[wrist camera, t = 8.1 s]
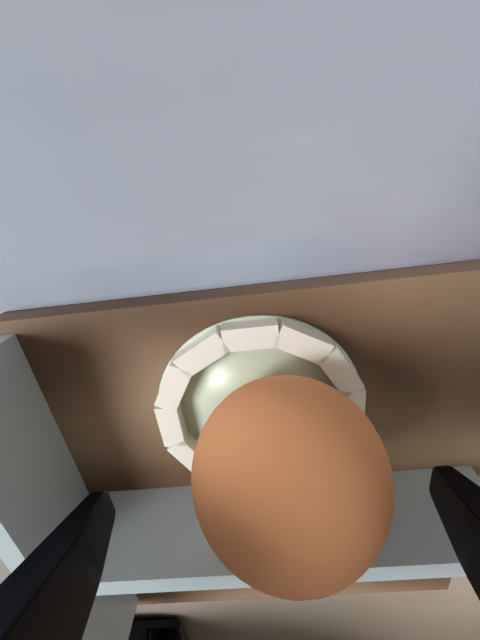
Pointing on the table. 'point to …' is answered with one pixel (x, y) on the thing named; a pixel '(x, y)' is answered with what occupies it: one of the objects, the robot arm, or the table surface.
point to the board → (207, 393)
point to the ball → (292, 487)
